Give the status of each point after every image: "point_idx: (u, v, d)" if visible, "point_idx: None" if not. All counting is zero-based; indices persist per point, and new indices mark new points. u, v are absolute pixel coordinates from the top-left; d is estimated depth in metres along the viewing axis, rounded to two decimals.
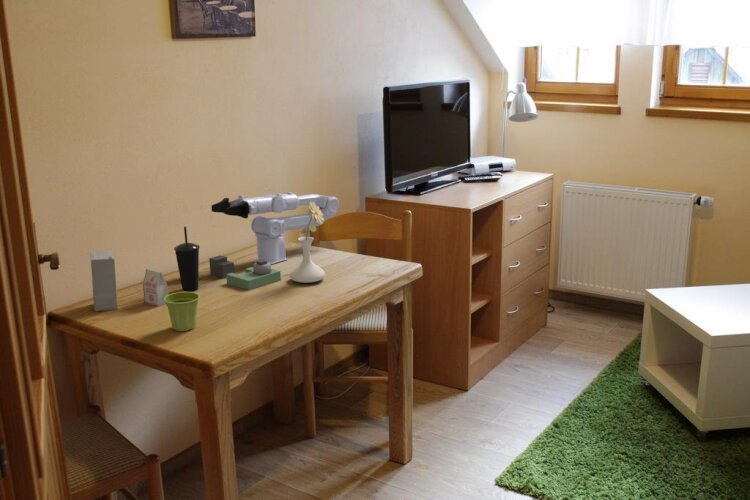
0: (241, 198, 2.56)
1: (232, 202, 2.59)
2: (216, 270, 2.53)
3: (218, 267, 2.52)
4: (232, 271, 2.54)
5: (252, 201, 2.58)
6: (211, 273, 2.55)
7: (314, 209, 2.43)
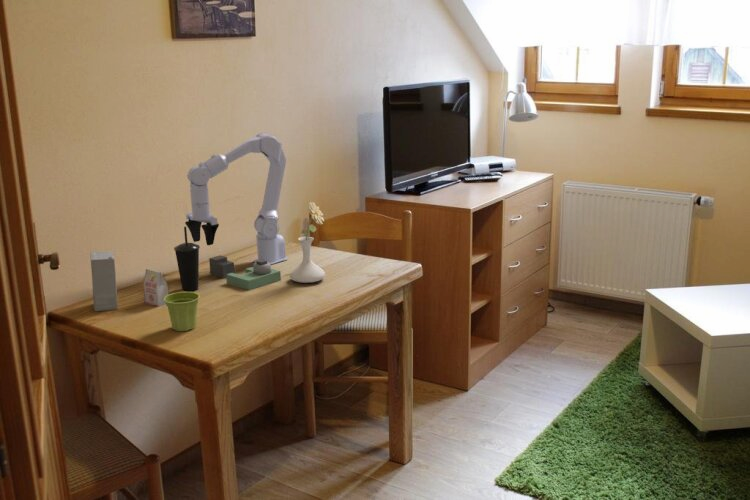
0: (194, 220, 2.54)
1: None
2: (216, 270, 2.53)
3: (218, 267, 2.52)
4: (232, 271, 2.54)
5: (199, 209, 2.53)
6: (211, 273, 2.55)
7: (314, 209, 2.43)
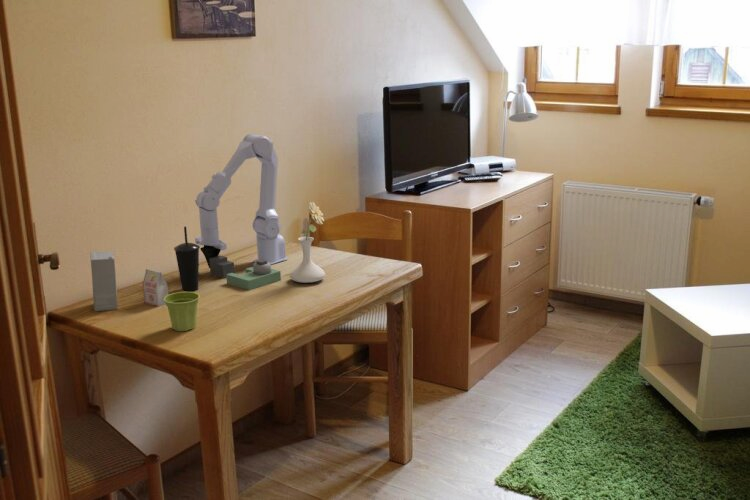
0: (203, 244, 2.53)
1: None
2: (216, 271, 2.53)
3: (218, 267, 2.52)
4: (232, 271, 2.54)
5: (208, 234, 2.52)
6: (211, 273, 2.55)
7: (314, 209, 2.43)
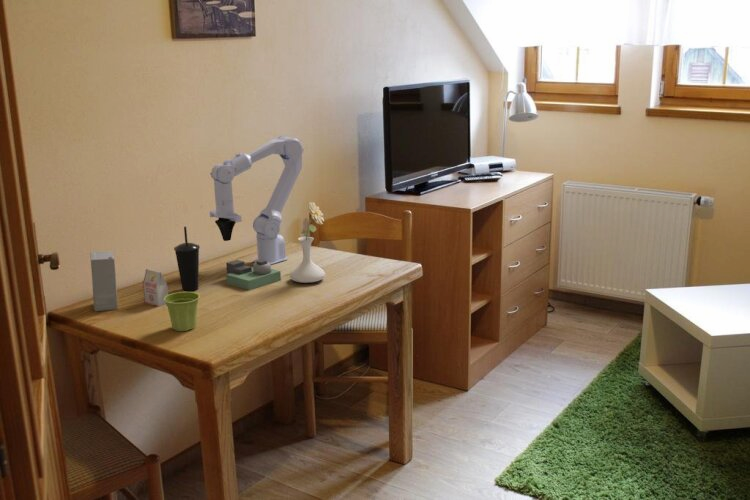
0: (218, 217, 2.55)
1: None
2: None
3: (236, 271, 2.46)
4: None
5: (223, 206, 2.54)
6: None
7: (314, 209, 2.43)
